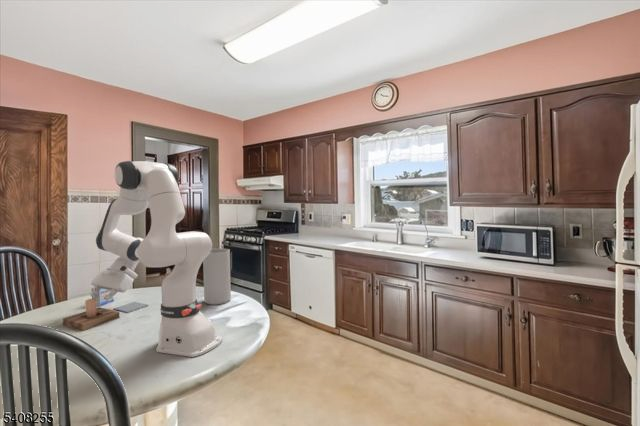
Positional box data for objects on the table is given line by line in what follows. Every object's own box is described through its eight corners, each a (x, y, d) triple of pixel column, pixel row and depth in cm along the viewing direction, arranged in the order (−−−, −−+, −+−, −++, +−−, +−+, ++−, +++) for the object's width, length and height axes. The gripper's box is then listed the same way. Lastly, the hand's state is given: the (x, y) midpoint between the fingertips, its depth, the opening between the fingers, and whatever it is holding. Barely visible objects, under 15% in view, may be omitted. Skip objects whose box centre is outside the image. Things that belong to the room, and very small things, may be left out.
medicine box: (99, 306, 148) (99, 288, 147) (92, 306, 149) (91, 288, 148) (114, 301, 155) (113, 283, 155) (106, 300, 156) (105, 283, 156)
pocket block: (119, 317, 134) (119, 312, 134) (83, 330, 122) (83, 324, 121) (99, 312, 140) (99, 307, 140) (63, 324, 128) (62, 318, 127)
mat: (148, 305, 149) (148, 304, 149) (127, 313, 140) (127, 311, 140) (134, 302, 153) (134, 301, 153) (113, 309, 144) (113, 308, 144)
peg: (99, 320, 132) (98, 299, 131) (89, 323, 128) (88, 302, 128) (94, 318, 133) (92, 298, 133) (84, 322, 130) (83, 300, 129)
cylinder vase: (235, 300, 156) (234, 250, 154) (212, 307, 146) (211, 254, 145) (222, 295, 164) (221, 247, 163) (199, 301, 155) (198, 251, 153)
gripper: (101, 264, 144) (78, 291, 135) (130, 268, 135) (107, 297, 127) (111, 271, 148) (90, 298, 140) (140, 276, 139) (119, 305, 131)
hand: (98, 298), depth 133 cm, fingers open, 8 cm apart
